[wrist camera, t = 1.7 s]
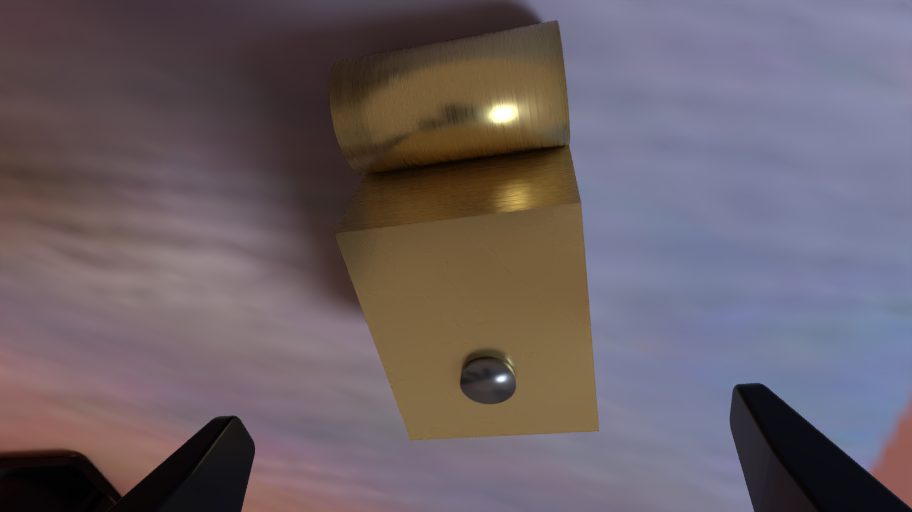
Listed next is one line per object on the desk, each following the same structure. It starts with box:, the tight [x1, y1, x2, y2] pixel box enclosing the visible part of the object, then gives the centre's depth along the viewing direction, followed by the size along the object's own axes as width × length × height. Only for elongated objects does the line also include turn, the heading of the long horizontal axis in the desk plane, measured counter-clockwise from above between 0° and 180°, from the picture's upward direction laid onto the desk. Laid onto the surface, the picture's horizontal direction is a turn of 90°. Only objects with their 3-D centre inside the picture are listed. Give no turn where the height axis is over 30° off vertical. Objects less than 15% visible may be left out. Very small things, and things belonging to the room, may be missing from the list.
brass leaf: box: [329, 20, 599, 440], centre depth 12 cm, size 4×8×4 cm, turn 11°
